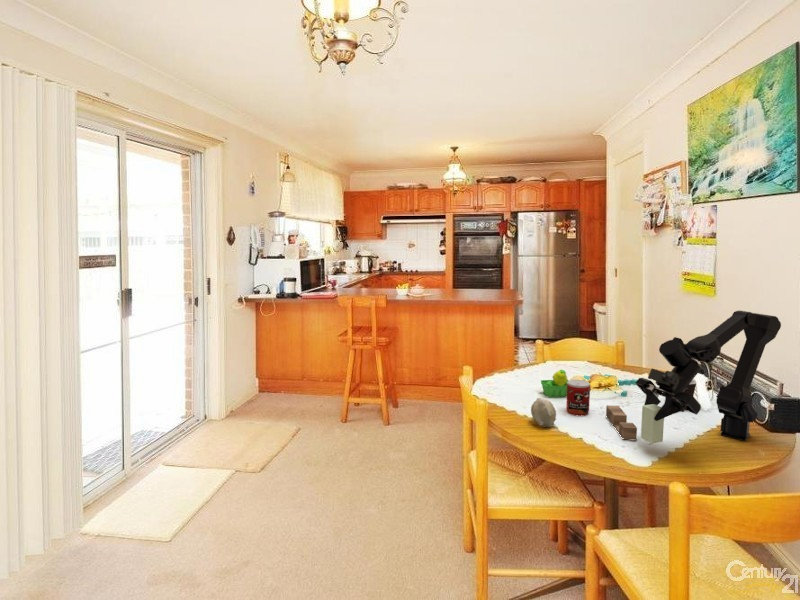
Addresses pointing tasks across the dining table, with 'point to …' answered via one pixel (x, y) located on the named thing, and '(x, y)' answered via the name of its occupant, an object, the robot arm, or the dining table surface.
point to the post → (651, 424)
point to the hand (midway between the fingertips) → (649, 417)
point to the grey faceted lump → (543, 412)
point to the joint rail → (621, 422)
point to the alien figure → (620, 383)
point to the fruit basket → (556, 385)
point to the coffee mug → (690, 390)
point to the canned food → (578, 397)
